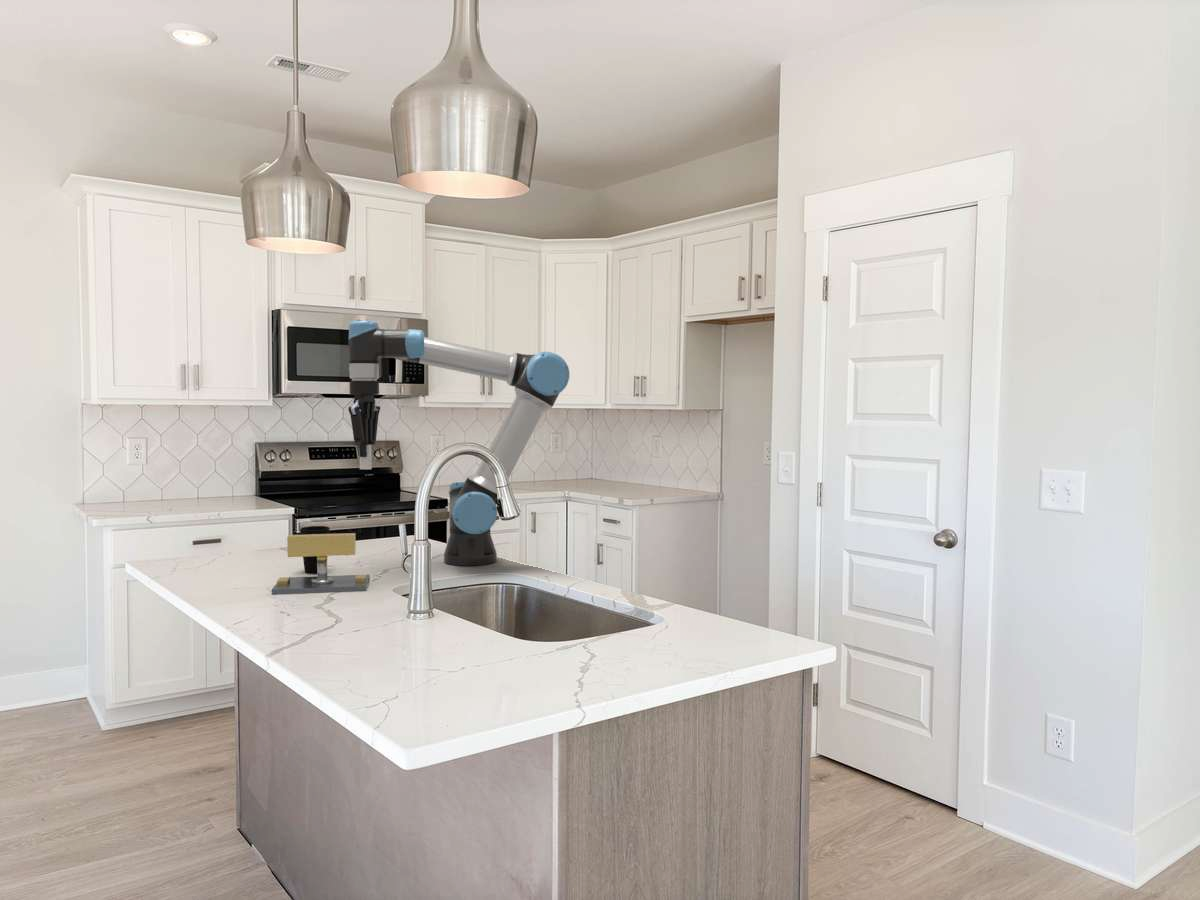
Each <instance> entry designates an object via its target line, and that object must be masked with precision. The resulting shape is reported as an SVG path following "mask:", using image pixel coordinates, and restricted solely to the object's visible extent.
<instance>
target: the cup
mask: <svg viewBox="0 0 1200 900" xmlns="http://www.w3.org/2000/svg"><path fill="white" fill-rule="evenodd" d="M330 530H331V527H330V526H326V525H325V526H324V525H314V526H313V525H312V526H310V525H309V526H303V527H300V528H299V532H300V533H299V535H307V534H330ZM302 559H303V568H304V574H307V575H317V563H318V562H317V556H307V557H302ZM326 562H327V563H328V560H327V561H326Z"/></svg>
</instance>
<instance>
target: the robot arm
mask: <svg viewBox="0 0 1200 900" xmlns="http://www.w3.org/2000/svg"><path fill="white" fill-rule="evenodd" d="M348 325H349V326H348V360H349V361H348V362H349V367H348V371H349V379H351V380H350V381H349V394H350V395H351V396H354V397H353V405H352V406H348V413H349V415H350V422H351V427H352V434H353V441H354V444H355V445H356V446H357V445H358V446H359V447H358V448H359V449H358V450H359V470H372V469H373V468H372V467H373V466H372V465H373V462H372V456H373V455H372V454H373V453H372V445H376V441H377V435H378V433H377V432H378V424H379V423H378V422H379V414H380V411H381V406H380V405H376V399H375V396H378V395H379V394H380V382H379V381H378V379H379V378H380V371H379V369H380V367H379V366H380V364H379V359H380V358H384V359H385V358H386V359H387V358H391V359H392V358H393V359H396V360H397V361H398V360H399V361H401V362H404V361H406V362H411V363H416V364H417V363H418V364H422V365H425V366H426V365H428V366H430V367H436V368H441V369H446V370H451V371H456V372H460V373H465V374H470V375H475V376H480V377H485V378H489V379H493V380H497V381H503V382H506V383H507V386H510V387H514V388H513V389H514V393H515V398H514V400H513V402H512V404H511V406H510V408H509V410H508V411H507V413H506V416H505V418H504V419H503V421H502V422H501V425H500V427H499V429H498V431H497V433H496V434H495V436H494V438H493V440H492V442H491V444H490V446H489V448H488V450H490V451H491V452H493V453H494V454H495V455H496V456H497V457H498V458H499V460H500V462H501V463H502V465H503V467H504V469H505V471H506V474H507V476H508V480H509V479H510V477H511V475H512V473H513V471H514V469H515V467H516V465H517V463H518V461H519V459H520V458H521V456H522V453H523V452H524V450H525V448H526V446H527V445H528V443H529V441H530V438H531V437H532V435H533V433H534V431H535V429H536V427H537V425H538V423H539V422H540V419H541V417H542V415H543V414H544V412H545V411H547V410H550V409H552V408H553V406H554V405H555V403H556V401H557V399H558V397H559V395H560V393H562V392H563V391H564V389H566V387H567V386H568V384H569V380H570V369H569V365H568V364H567V362H566V361H565V359H564V358H563V357H562V356H560V355H559V354H557V353H554V352H551V351H541V352H539V353H536V354H524V353H518V352H514V353H512V354H507V353H502V352H496V351H493V350H486V349H482V348H477V347H474V346H470V345H469V346H468V345H463V344H460V343H454V342H449V341H444V340H439V339H435V338H430V337H426V336H425V333H424V331H423V330H421V329H414V328H413V329H411V328H409V329H408V328H407V329H401V328H400V329H398V328H397V329H384V328H380V327H379V324H378V322H377V321H375V320H374V321H373V320H354V321H351V322H350V323H349V324H348ZM488 450H487V451H488ZM448 495H449V538H448V541H447V543H446V546H445V550H444V553H443V562H444V563H445V564H447V565H452V566H461V567H462V566H468V567H469V566H482V565H483V566H484V565H489V564H493V563H496V562H497V560H498V559H497V558H498V557H497V556H498V555H497V550H496V547H495V545H494V541H493V538H492V535H491V528H492V527H493V526H494V524H495V523H496V520H497V517H498V513H499V512H498V511H499V510H498V511H497V507H496V500H497V488H496V482H495V478H494V476H493V474H492V472H491V470H490V468H489V466H488V465H487V464H486V463H485V462H484V461H483V460H482V461H481V462H480V464H479V466H478V468H477V470H476V472H475V473H474V474H472V475H468V476H467V478H466V479H465V481H457V482H455V481H454V482H452V483H450V485H449V491H448Z"/></svg>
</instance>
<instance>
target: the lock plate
mask: <svg viewBox="0 0 1200 900" xmlns="http://www.w3.org/2000/svg"><path fill="white" fill-rule="evenodd" d="M370 578H371V575H370V574H343V575H328V561H327V562H318V563H317V574H316V575H315V576H292V577H291V576H287V577H286V576H285V577H283V576H282V577H279V578H278V580H277V581H276V584H274V586H273V587H272V589H271V595H291V594H293V595H294V594H316V593H317V594H318V593H340V592H341V593H344V592H346V593H348V592H366V591H367V589H368V587H369V582H370Z"/></svg>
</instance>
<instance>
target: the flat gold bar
mask: <svg viewBox="0 0 1200 900" xmlns="http://www.w3.org/2000/svg"><path fill="white" fill-rule="evenodd" d="M286 540H287V545H286V546H287V549H286V550H287V558H300V557H301V558H303V557H307V556H317V562H326V561H327V562H328V557H331V556H334V557H335V556H355V555H356V551H357V550H356V549H357V546H356V545H357V544H356V532H350V533H349V532H348V533H347V532H345V533H344V532H343V533H329V534H307V535H300V534H288V535H287V537H286Z"/></svg>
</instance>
